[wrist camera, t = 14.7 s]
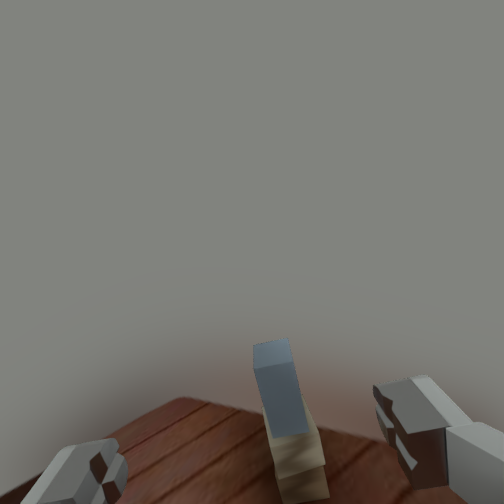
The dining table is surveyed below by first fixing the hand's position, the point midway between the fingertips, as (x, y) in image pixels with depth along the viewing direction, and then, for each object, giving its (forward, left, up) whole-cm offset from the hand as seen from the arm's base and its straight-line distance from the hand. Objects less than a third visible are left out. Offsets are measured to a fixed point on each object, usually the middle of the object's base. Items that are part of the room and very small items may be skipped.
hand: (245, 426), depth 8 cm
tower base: (0, +20, -32) cm, 38 cm away
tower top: (0, +20, -27) cm, 34 cm away
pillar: (0, +20, -22) cm, 30 cm away
